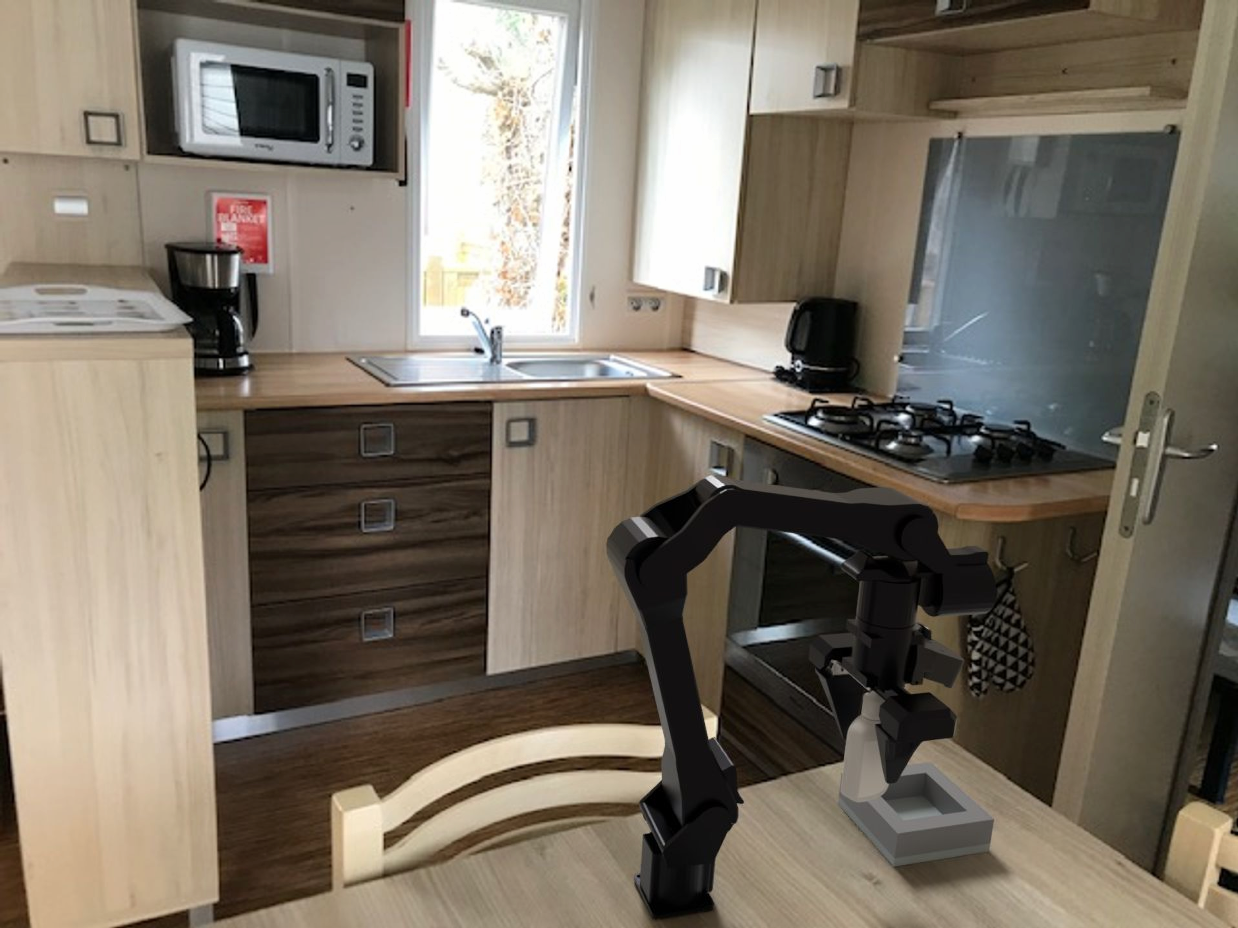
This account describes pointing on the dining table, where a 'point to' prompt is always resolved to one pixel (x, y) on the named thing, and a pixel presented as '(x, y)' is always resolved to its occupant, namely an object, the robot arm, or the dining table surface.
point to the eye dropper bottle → (864, 755)
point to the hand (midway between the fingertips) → (868, 759)
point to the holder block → (922, 818)
